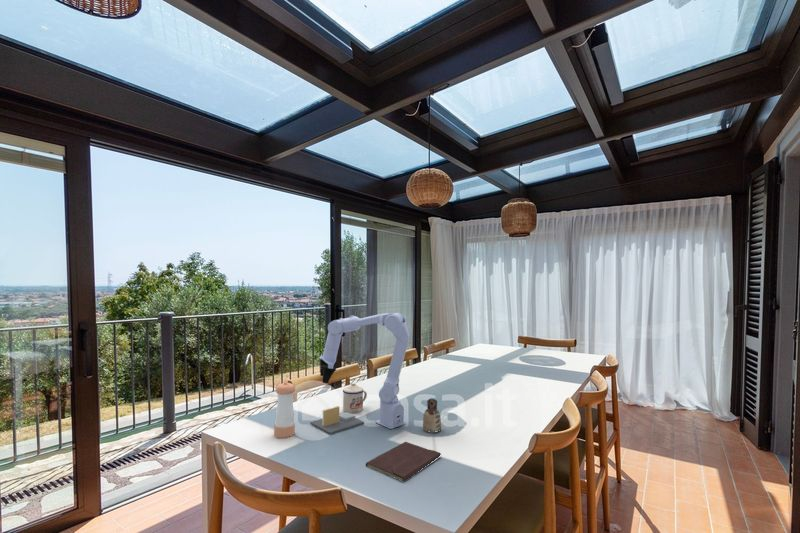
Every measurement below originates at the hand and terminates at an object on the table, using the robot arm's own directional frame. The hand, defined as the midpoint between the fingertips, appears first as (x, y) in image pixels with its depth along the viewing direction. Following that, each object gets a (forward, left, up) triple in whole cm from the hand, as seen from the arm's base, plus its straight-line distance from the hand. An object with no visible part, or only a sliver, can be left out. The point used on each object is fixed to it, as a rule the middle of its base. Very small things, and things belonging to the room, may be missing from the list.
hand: (323, 379), depth 158 cm
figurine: (-40, -24, -16) cm, 49 cm away
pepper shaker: (-6, +20, -16) cm, 26 cm away
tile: (-11, +3, -15) cm, 19 cm away
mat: (-11, 0, -15) cm, 19 cm away
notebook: (-51, +2, -16) cm, 54 cm away
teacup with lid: (-2, -16, -16) cm, 22 cm away
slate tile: (-10, -5, -15) cm, 18 cm away
